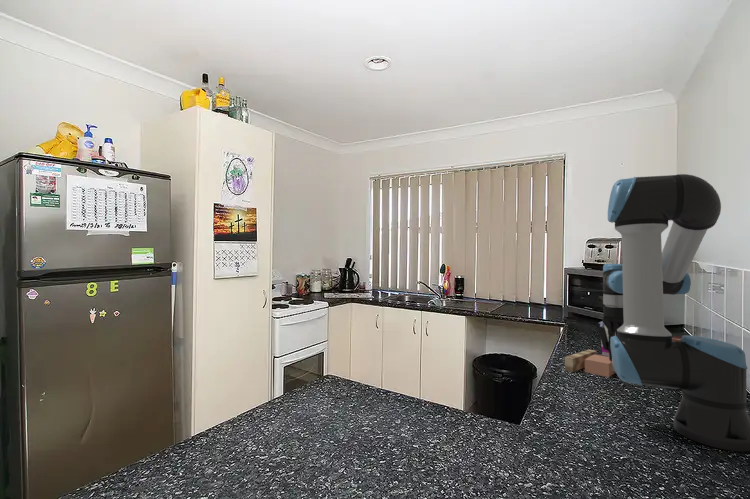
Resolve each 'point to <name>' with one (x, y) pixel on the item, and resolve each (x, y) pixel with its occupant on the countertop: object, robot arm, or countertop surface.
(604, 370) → the block
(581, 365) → the board
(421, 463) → the countertop surface
